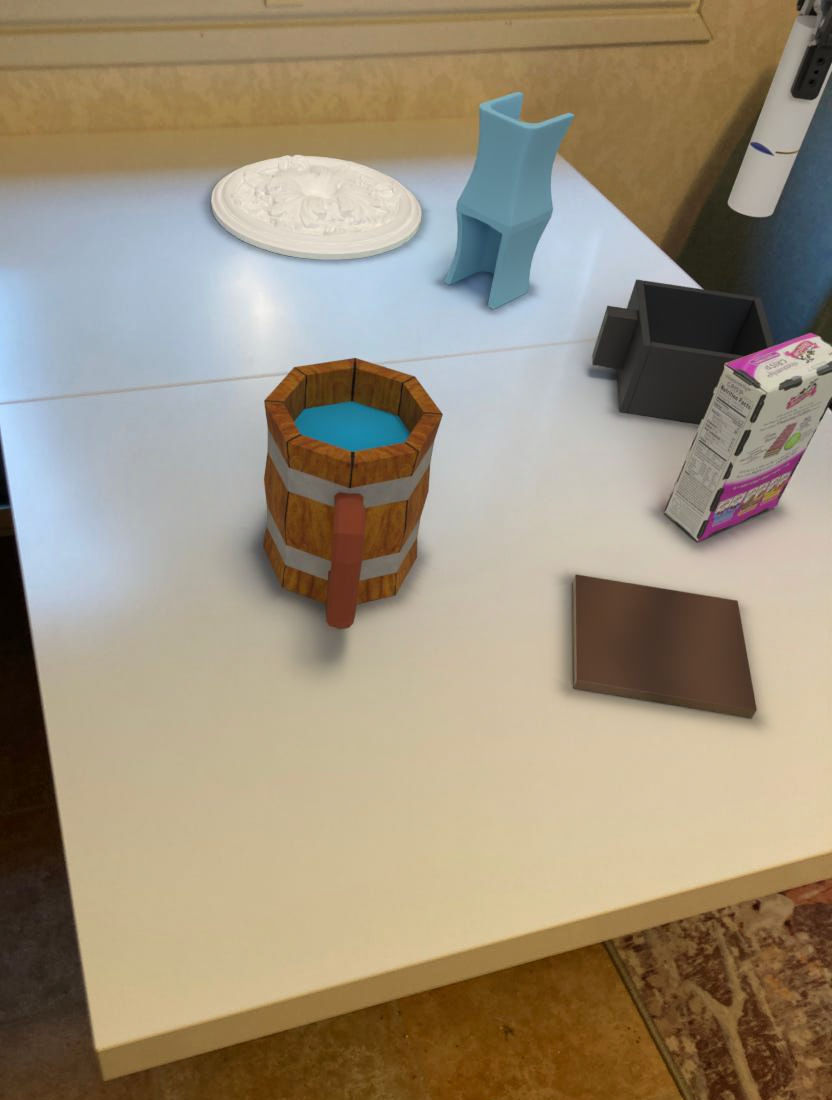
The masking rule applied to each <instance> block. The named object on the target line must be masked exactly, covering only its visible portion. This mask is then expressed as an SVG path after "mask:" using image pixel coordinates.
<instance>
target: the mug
mask: <svg viewBox="0 0 832 1100" xmlns="http://www.w3.org/2000/svg"><path fill="white" fill-rule="evenodd" d="M263 402H264V410H265V418H266V425H267V450H266V451H267V452H266V460H265V468H264V474H263V483H264V493H265V501H266V527H265V532H264V539H263V543H262V548H263V550H264V552H265V554H266V556H267V559H268V561H269V563H270V565H271V567H272V569H273V571H274V573H275V576H276V578H277V580H278V582H279V584H280V586H281V588H282V589H285V590H287V591H290V592H293V593H295V594H299V595H301V596H304V597H305V598H309V599H312V600H315V601H316V602H319V603H322V604H325V605H326V606H325V607H326V608H325V623H326V624H327V626H328V627H330V628H334V629H336V630H342V629H350V628H351V627H352V625H354V624H355V623H354V622H355V618H356V613H357V612H356V611H357V605H359V604H364V603H368V602H373V601H376V600H380V599H381V600H382V599H384V598H390V597H394V596H397V593H398V591H399V590H400V588H401V586H402V584H403V583H404V581H405V579H406V578H407V575H408V574H409V572H410V571H411V569H412V568H413V565H414V564H415V562H416V561H417V559H418V535H419V529H420V524H421V520H422V519H421V517H422V514H423V511H424V507H425V504H426V501H427V497H428V494H429V492H430V476H431V474H430V473H431V462H432V457H433V456H432V455H433V451H434V446H435V440H436V437H437V434H438V431H439V428H440V425H441V421H442V418H443V416H444V415H443V412H442V411H441V410H440V408H439V407H438V406H437V404H436V403H435V401H434V400H433V398H431V396H430V395H429V393H428V392H427V390H426V389H425V387H424V386H423V385H422V384H421V382H420V381H419V380H418V378H417V377H416V376H415V375H411V374H409V373H406V372H402V371H398V370H396V369H393V368H389V367H386V366H383V365H379V364H376V363H374V362H370V361H366V360H363V359H360V358H357V357H351V358H344V359H338V360H332V361H325V362H318V363H312V364H306V365H305V364H304V365H299V366H293V368H292V369H290V371H289V372H288V373H287V374H286V376H284V378H283V379H282V380H281V381H280V382H279V383H278V385H277V386H276V387H275V388H274V389H273V390H272V392H271V393H270V394H269V395H268V396H267V397H266V398H265V399H264V401H263Z"/></svg>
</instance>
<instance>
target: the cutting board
mask: <svg viewBox="0 0 832 1100" xmlns="http://www.w3.org/2000/svg"><path fill="white" fill-rule="evenodd" d="M572 639H573V640H572V641H573V643H572V645H573V646H572V647H573V648H572V649H573V653H572V654H573V688H574V689H577V690H582V691H583V690H584V691H590V692H595V693H600V694H607V695H613V696H617V697H618V696H619V697H625V698H631V699H637V700H643V701H649V702H655V703H662V704H665V705H666V704H667V705H673V706H679V707H684V708H691V709H697V710H703V711H709V712H715V713H720V714H726V715H733V716H739V717H745V718H753V717H754V716H755V714H756V713H757V710H758V709H757V704H756V697H755V691H754V686H753V681H752V674H751V668H750V665H749V664H750V663H749V658H748V653H747V646H746V640H745V635H744V629H743V623H742V617H741V611H740V607H739V601H738V600H736V599H730V598H725V597H724V598H723V597H718V596H712V595H705V594H699V593H693V592H687V591H680V590H674V589H668V588H663V587H656V586H651V585H650V586H649V585H643V584H637V583H631V582H625V581H619V580H613V579H607V578H601V577H594V576H588V575H583V574H582V575H581V574H575V575H574V577H573V581H572Z"/></svg>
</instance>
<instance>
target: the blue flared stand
mask: <svg viewBox="0 0 832 1100" xmlns="http://www.w3.org/2000/svg"><path fill="white" fill-rule="evenodd" d="M523 101H524V93H523V92H521V91H515V92H512V93H509V94H506V95H503V96H499V97H496V98H494V99H493V98H492V99H490V100H487V101H484V102H481V103H480V104H479V106H478V118H479V121H478V122H479V123H478V125H479V126H478V127H479V128H478V129H479V130H478V132H479V133H478V146H477V152H476V158H475V161H474V165H473V168H472V171H471V173H470V176H469V178H468V180H467V182H466V184H465V186H464V188H463V190H462V191H461V194H460V195H459V197H458V199H457V202H456V208H455V211H456V212H455V213H456V225H457V227H456V228H457V229H456V230H457V233H456V234H457V237H456V239H457V240H456V247H455V253H454V256H453V260H452V263H451V266H450V269H449V271H448V273H447V275H446V277H445V279H444V284H446V285H448V286H450V285H453V284H455V283H457V282H459V281H461V280H463V279H465V278H467V277H470V276H472V275H474V274H476V273H479V272H482V273H483V272H485V273H491V274H493V276H492V277H493V278H492V282H491V288H490V293H489V297H488V303H487V307H488V308H489V309H491V310H496V309H497V308H500V307H501V306H503V305H505V304H507V303H509V302H511V301H513V300H515V299H517V298H520V297H521V296H524V295H526V294H527V293H528V292H529V290H530V275H531V268H532V264H533V263H532V262H533V259H534V254H535V252H536V249H537V246H538V244H539V242H540V240H541V237H542V236H543V233H544V232H545V230H546V228H547V226H548V225H549V222H550V220H551V218H552V216H553V211H554V206H553V198H552V197H553V196H552V173H553V167H554V163H555V160H556V157H557V154H558V152H559V150H560V147H561V144H562V141H563V139H564V138H565V136H566V134H567V132H568V130H569V128H570V126H571V124H572V123H573V120H574V119H575V115H576V114H575V113H571V112H566V113H564V114H560V115H558V116H555V117H551V118H549V119H546V120H543V121H540V122H536V123H533V122H525V121H522V120H521V121H520V117H521V112H522V107H523Z"/></svg>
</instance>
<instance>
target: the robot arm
mask: <svg viewBox="0 0 832 1100" xmlns="http://www.w3.org/2000/svg"><path fill="white" fill-rule="evenodd" d="M796 11H797V12H798V14H797V17H799V16H805V15H811V16H817V17H816V21H815V24H814V27H813V30H812V33H811V35H810V37H809V45H808V46H807V48H806V51H805V54H804V56H803V59H802V61H801V64H800V66H799V69H798V72H797V74H796V77H795V79H794V82H793V84H792V87H791V94H792V96H793V97H794V98H798V99H805V100H814V99H816V98H817V97H818V95H819V93H820V90H821V88H822V85H823V83H824V80H825V78H826V76H827V73H828V71H829V68H830V66H831V63H832V0H797V2H796Z"/></svg>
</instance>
